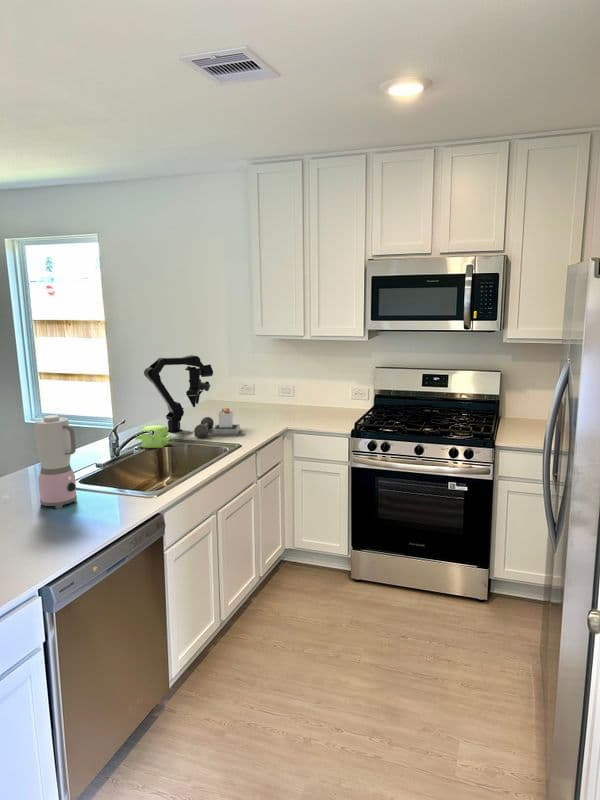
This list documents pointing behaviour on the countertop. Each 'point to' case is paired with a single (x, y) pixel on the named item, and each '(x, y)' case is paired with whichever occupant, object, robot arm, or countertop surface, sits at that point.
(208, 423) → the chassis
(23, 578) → the countertop surface
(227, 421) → the block
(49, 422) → the blender
